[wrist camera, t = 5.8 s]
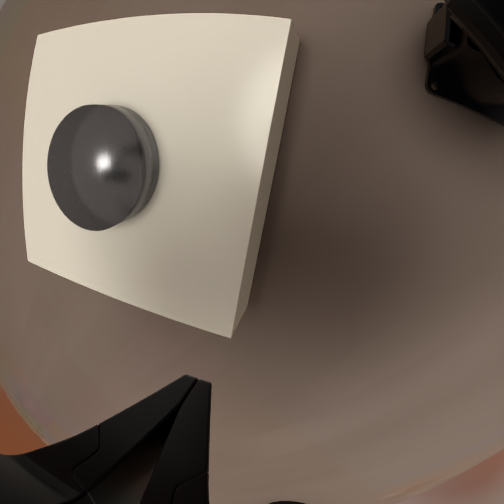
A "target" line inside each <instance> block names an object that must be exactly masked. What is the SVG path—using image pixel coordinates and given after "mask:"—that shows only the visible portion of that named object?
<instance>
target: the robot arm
mask: <svg viewBox="0 0 504 504" xmlns="http://www.w3.org/2000/svg"><path fill="white" fill-rule="evenodd" d="M444 1H445V4H444V3H438V4H436V6H435V7H434V15H433V17H432V19H431V20H430V21H429V22H428V25H427V35H426V44H425V52H424V57H425V59H426V60H427V61H429V62H428V69H427V76H426V82H425V88H426V90H427V91H428V92H429V93H430V94H432V95H434V96H437V97H440V98H442V99H445V100H447V101H450V102H452V103H455V104H457V105H460V106H462V107H464V108H467V109H469V110H471V111H473V112H476V113H478V114H480V115H482V116H484V117H486V118H489V119H491V120H493V121H495V122H497V123H499V124H501V125H503V126H504V0H444ZM439 8H440V9H439ZM431 83H434V84H435V85H436V87H437V89H436V90H433V89H432V88H431ZM211 389H212V384H211V383H210V382H207V381H204V380H201V379H200V380H198V379H197V378H195V377H193V376H190V375H184V376H182V377H180V378H179V379H177V380H175V381H174V382H172V383H170V384H169V385H167V386H165V387H164V388H162V389H160V390H158V391H157V392H155V393H153V394H152V395H150V396H148V397H146V398H145V399H143V400H141V401H139V402H138V403H136V404H134V405H132V406H131V407H129V408H127V409H125V410H123V411H122V412H120V413H118V414H116V415H114V416H113V417H111V418H109V419H107V420H105V421H103V422H102V423H100V424H99V425H96V426H94V427H92V428H90V429H88V430H86V431H84V432H82V433H80V434H78V435H76V436H73V437H71V438H68V439H66V440H63V441H61V442H58V443H55V444H52V445H49V446H46V447H44V448H41V449H37V450H34V451H32V452H28V453H24V454H19V455H3V454H0V504H139V503H140V504H209V485H208V483H209V473H208V472H209V440H210V412H211Z"/></svg>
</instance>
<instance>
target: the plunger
mask: <svg viewBox="0 0 504 504" xmlns="http://www.w3.org/2000/svg"><path fill="white" fill-rule="evenodd" d="M47 173H48V180H49V185H50V188H51V192H52V194H53V197H54V199H55V201H56V203H57V205H58V207H59V208H60V210H61V211H62V212H63V214H64V215H65V216H66V217H67V218H68V219H69V220H70V221H71V222H73V223H74V224H75V225H77V226H79V227H81V228H83V229H86V230H90V231H102V230H106V229H109V228H111V227H113V226H115V225H117V224H119V223H121V222H123V221H125V220H127V219H130V218H131V217H133V216H135V215H137V214H138V213H139V212H140V211H141V210H142V209H144V208H145V206H146V205H147V204H148V202H149V201H150V199H151V197H152V195H153V193H154V191H155V188H156V185H157V181H158V175H159V153H158V147H157V144H156V140H155V138H154V135H153V133H152V131H151V129H150V127H149V126H148V124H147V123H146V122H145V120H144V119H143V118H142V117H141V116H140V115H139V114H137V113H136V112H134V111H133V110H131V109H129V108H127V107H124V106H119V105H99V104H91V105H84V106H81V107H78V108H76V109H74V110H73V111H71V112H70V113H69V114H68V115H66V116H65V117H64V119H63V120H62V121H61V122H60V124H59V125H58V127H57V128H56V130H55V132H54V134H53V137H52V139H51V142H50V146H49V151H48V158H47Z"/></svg>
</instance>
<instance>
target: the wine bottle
mask: <svg viewBox="0 0 504 504" xmlns="http://www.w3.org/2000/svg"><path fill="white" fill-rule="evenodd" d="M270 504H304V503H299V502H290V501H280V502H273V503H270Z"/></svg>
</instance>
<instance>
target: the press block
mask: <svg viewBox="0 0 504 504" xmlns="http://www.w3.org/2000/svg"><path fill="white" fill-rule="evenodd" d="M299 42H300V40H299V38H298V35H297V32H296V30H295V27H294V25H293V22H292V20H291V19H286V18H277V17H268V16H257V15H243V14H220V13H185V14H163V15H149V16H138V17H129V18H121V19H113V20H106V21H100V22H94V23H89V24H83V25H78V26H73V27H69V28H64V29H60V30H56V31H52V32H48V33H44V34H40V35H38V37H37V42H36V46H35V51H34V56H33V62H32V67H31V73H30V80H29V87H28V94H27V103H26V112H25V124H24V139H23V210H24V226H25V238H26V248H27V257H28V261H29V262H31V263H33V264H36V265H38V266H40V267H42V268H44V269H47V270H49V271H51V272H53V273H56V274H58V275H60V276H62V277H65V278H67V279H69V280H72V281H74V282H76V283H79V284H81V285H83V286H86V287H88V288H91V289H93V290H96V291H98V292H101V293H103V294H106V295H108V296H111V297H113V298H116V299H118V300H121V301H123V302H126V303H129V304H131V305H134V306H137V307H139V308H142V309H145V310H147V311H150V312H153V313H156V314H159V315H161V316H164V317H167V318H170V319H173V320H176V321H179V322H182V323H184V324H187V325H190V326H193V327H196V328H200V329H203V330H206V331H209V332H212V333H215V334H218V335H221V336H225V337H228V338H231V337H232V335H233V333H234V331H235V330H236V328H237V326H238V324H239V322H240V320H241V318H242V316H243V314H244V312H245V310H246V308H247V305H248V300H249V295H250V290H251V286H252V281H253V276H254V271H255V266H256V261H257V256H258V251H259V246H260V241H261V236H262V231H263V226H264V221H265V216H266V211H267V206H268V201H269V196H270V191H271V186H272V181H273V176H274V171H275V166H276V161H277V156H278V150H279V145H280V140H281V135H282V130H283V125H284V120H285V115H286V110H287V104H288V99H289V94H290V89H291V84H292V79H293V73H294V68H295V63H296V58H297V53H298V47H299ZM91 104H99V105H119V106H124V107H127V108H129V109H131V110H133V111H134V112H136V113H137V114H139V115H140V116H141V117H142V118H143V119H144V120H145V122H146V123H147V124H148V126H149V127H150V129H151V131H152V133H153V135H154V138H155V140H156V144H157V147H158V153H159V175H158V181H157V185H156V188H155V191H154V193H153V195H152V197H151V199H150V201H149V202H148V204H147V205H146V206H145V208H144V209H142V210H141V211H140V212H139V213H138V214H137V215H135V216H133V217H131V218H130V219H127V220H125V221H123V222H121V223H119V224H117V225H115V226H113V227H111V228H109V229H106V230H102V231H90V230H86V229H83V228H81V227H79V226H77V225H75V224H74V223H73V222H71V221H70V220H69V219H68V218H67V217H66V216H65V215H64V214H63V212H62V211H61V210H60V208H59V207H58V205H57V203H56V201H55V199H54V197H53V194H52V192H51V188H50V185H49V180H48V173H47V158H48V151H49V146H50V142H51V139H52V137H53V134H54V132H55V130H56V128H57V127H58V125H59V124H60V122H61V121H62V120H63V119H64V117H65V116H66V115H68V114H69V113H70V112H71V111H73V110H74V109H76V108H78V107H81V106H84V105H91Z"/></svg>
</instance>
